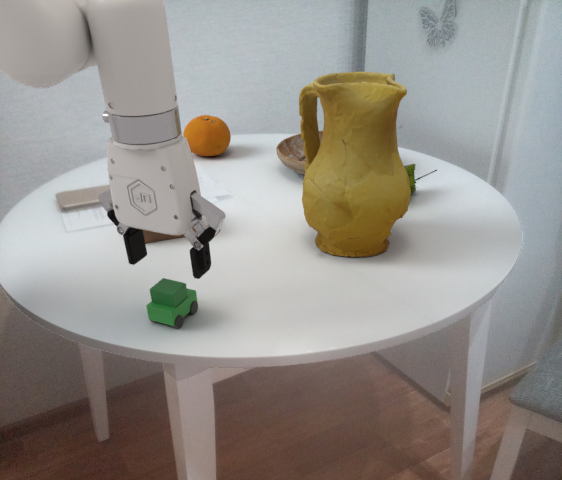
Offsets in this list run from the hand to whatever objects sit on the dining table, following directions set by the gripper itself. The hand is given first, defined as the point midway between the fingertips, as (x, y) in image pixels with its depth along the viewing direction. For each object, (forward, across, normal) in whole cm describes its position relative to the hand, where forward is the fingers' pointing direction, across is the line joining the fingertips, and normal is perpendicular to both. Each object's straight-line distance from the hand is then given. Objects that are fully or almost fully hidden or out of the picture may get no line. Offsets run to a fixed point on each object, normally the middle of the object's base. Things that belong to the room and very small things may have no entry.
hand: (169, 266), depth 72 cm
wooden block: (+7, -17, +22) cm, 29 cm away
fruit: (+8, -31, +61) cm, 69 cm away
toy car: (+8, 0, 0) cm, 8 cm away
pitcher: (+8, +14, +32) cm, 36 cm away
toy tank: (+8, +19, +54) cm, 58 cm away
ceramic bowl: (+8, -1, +63) cm, 63 cm away
